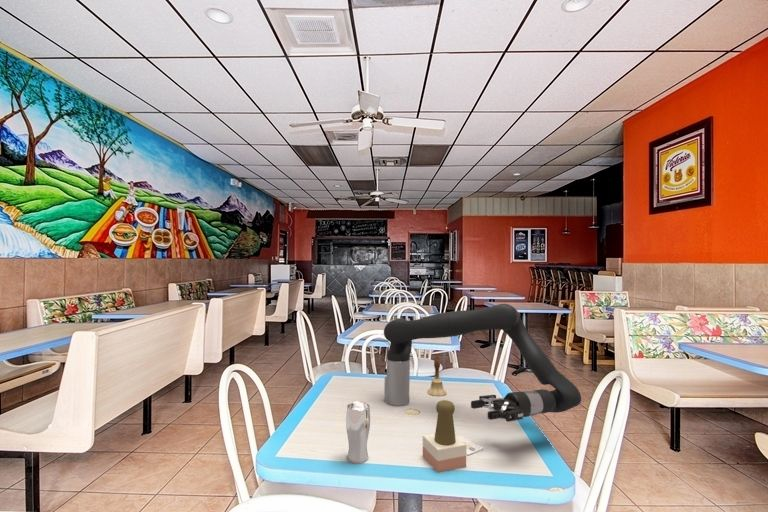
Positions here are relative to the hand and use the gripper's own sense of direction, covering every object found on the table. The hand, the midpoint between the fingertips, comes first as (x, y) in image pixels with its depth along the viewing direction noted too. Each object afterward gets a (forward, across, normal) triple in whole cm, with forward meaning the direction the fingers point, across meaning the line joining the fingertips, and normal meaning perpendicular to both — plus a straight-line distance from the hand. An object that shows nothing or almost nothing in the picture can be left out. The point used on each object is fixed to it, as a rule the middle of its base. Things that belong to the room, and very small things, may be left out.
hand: (479, 410), depth 115 cm
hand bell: (-14, -51, +14) cm, 54 cm away
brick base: (+12, 0, +13) cm, 18 cm away
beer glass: (+35, -10, +13) cm, 38 cm away
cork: (+12, 0, +7) cm, 14 cm away
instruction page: (+2, -6, +13) cm, 14 cm away
